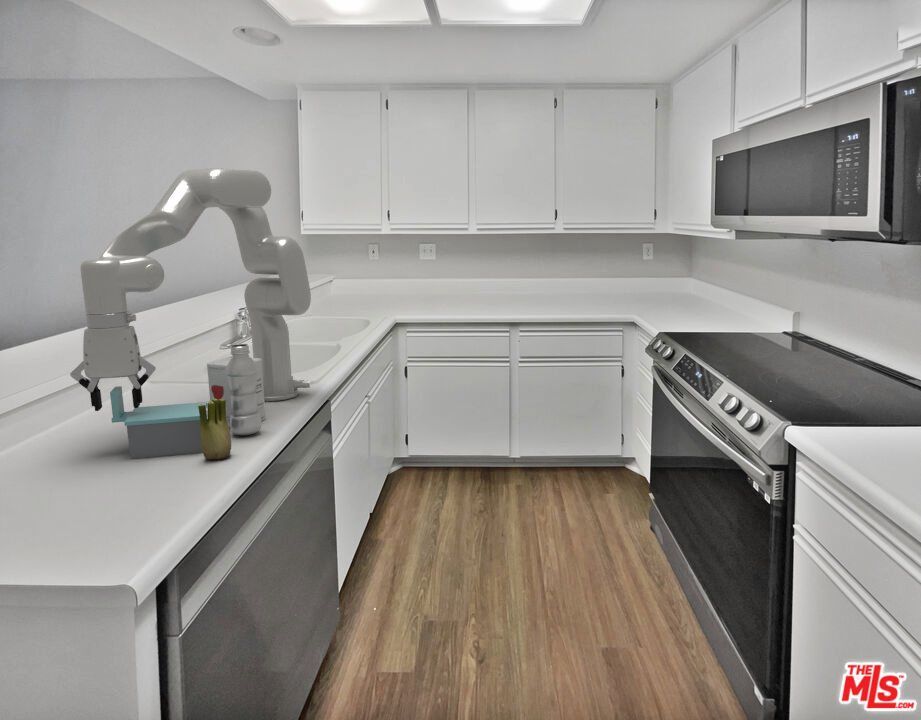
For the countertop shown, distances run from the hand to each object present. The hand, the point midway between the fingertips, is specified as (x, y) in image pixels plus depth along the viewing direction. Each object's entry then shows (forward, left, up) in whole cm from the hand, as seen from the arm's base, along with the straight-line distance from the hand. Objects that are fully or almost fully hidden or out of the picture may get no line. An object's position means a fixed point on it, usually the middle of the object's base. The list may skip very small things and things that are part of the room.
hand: (117, 407), depth 148 cm
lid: (-8, 0, -3) cm, 9 cm away
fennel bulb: (-19, +10, -10) cm, 24 cm away
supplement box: (-22, -15, -10) cm, 29 cm away
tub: (-9, 0, -9) cm, 13 cm away
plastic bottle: (-24, -5, -10) cm, 27 cm away
